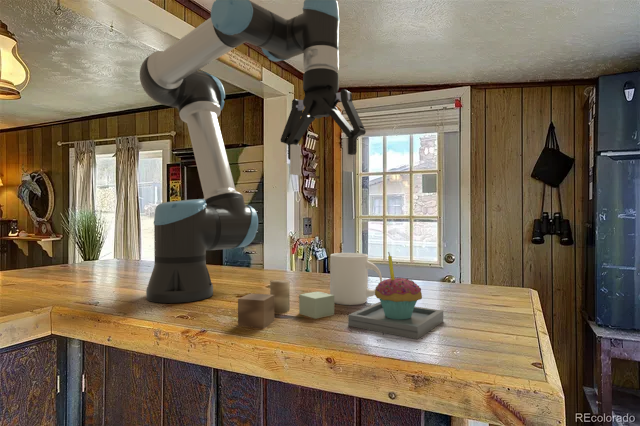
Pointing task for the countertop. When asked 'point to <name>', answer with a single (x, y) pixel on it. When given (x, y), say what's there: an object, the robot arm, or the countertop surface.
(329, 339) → the countertop surface
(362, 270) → the mug
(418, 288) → the cupcake
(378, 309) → the tray
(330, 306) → the sage block
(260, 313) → the walnut block
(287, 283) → the oak cylinder
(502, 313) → the countertop surface
